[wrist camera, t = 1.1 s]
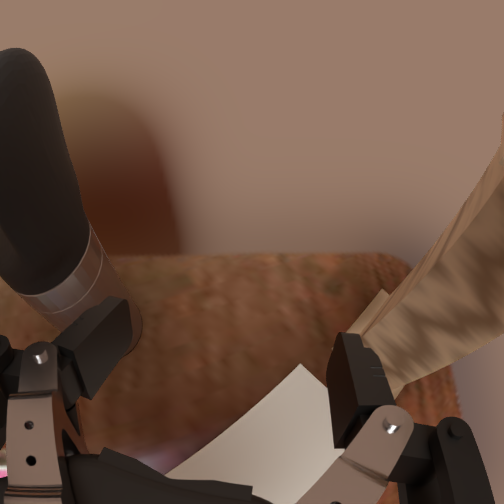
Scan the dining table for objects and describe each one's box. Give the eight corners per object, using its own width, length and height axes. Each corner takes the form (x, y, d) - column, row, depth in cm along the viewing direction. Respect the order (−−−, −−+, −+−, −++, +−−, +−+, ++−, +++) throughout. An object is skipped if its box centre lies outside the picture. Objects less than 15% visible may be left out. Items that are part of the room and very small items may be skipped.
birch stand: (318, 362, 33) (509, 120, 7) (380, 289, 39) (505, 94, 13) (378, 417, 28) (632, 285, 2) (431, 335, 35) (588, 177, 9)
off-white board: (132, 494, 21) (129, 496, 20) (298, 365, 32) (300, 363, 32) (242, 585, 14) (242, 589, 13) (396, 452, 25) (400, 452, 25)
